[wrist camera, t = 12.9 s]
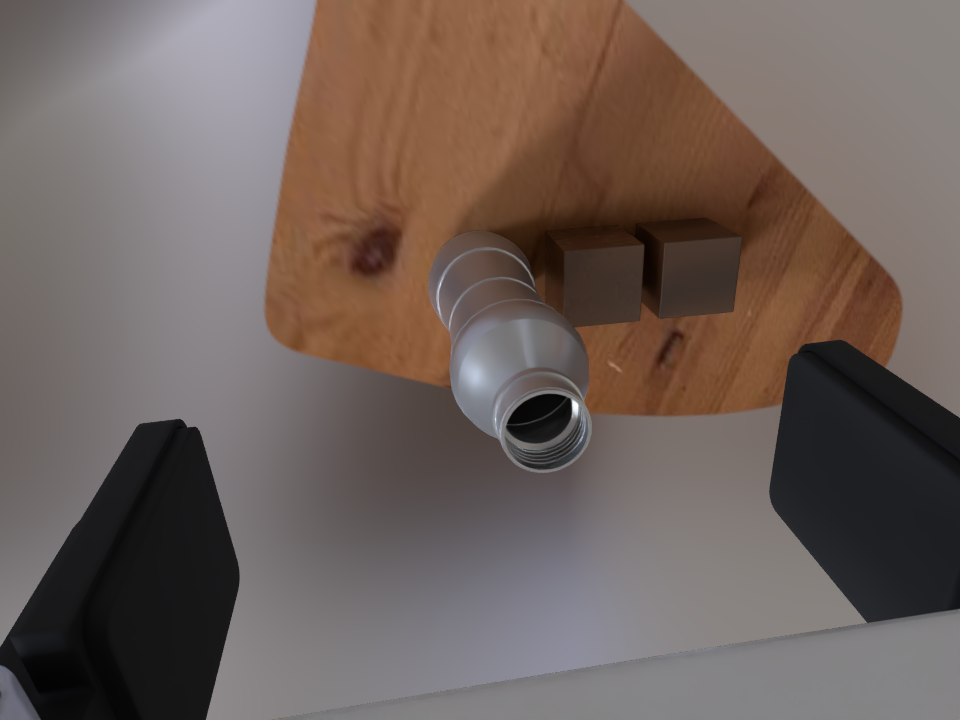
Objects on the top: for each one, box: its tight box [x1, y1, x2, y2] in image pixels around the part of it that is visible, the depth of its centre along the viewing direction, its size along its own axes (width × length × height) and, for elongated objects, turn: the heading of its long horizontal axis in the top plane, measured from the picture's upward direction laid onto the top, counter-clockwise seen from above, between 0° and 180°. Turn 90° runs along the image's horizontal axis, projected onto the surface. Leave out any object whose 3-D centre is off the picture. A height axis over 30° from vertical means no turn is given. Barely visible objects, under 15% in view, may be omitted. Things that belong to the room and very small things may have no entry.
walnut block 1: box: [545, 225, 644, 327], centre depth 43 cm, size 5×5×5 cm
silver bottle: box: [428, 230, 592, 473], centre depth 35 cm, size 6×7×20 cm
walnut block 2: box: [636, 218, 742, 319], centre depth 43 cm, size 5×5×5 cm
